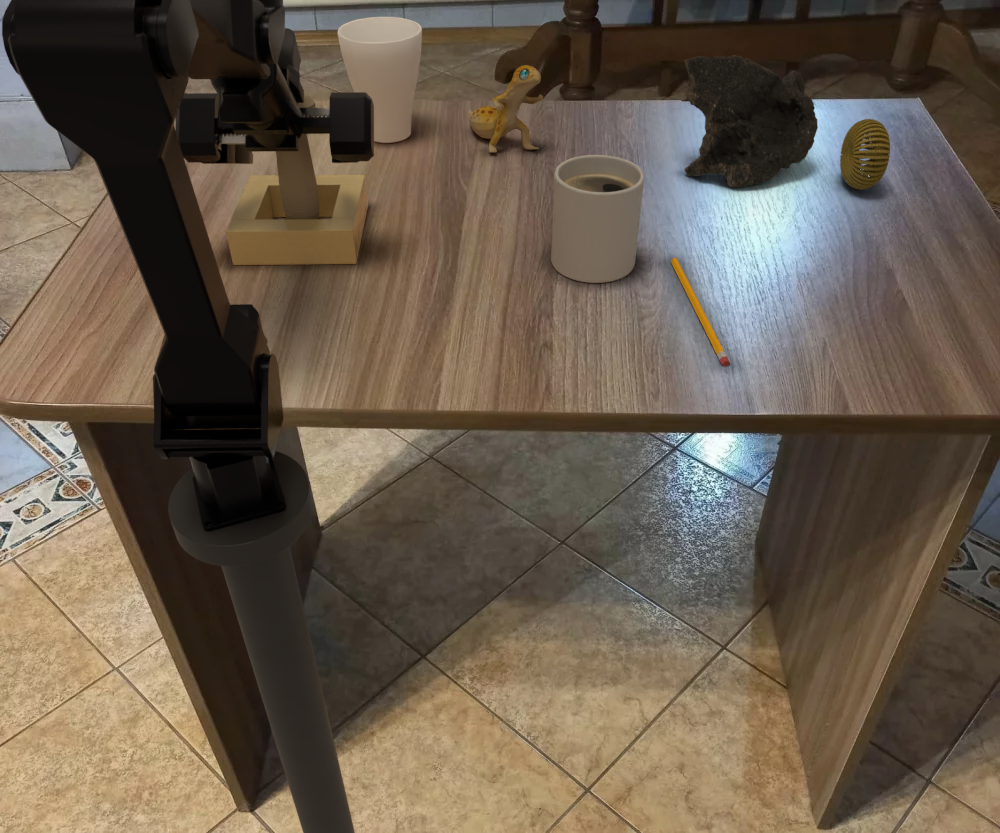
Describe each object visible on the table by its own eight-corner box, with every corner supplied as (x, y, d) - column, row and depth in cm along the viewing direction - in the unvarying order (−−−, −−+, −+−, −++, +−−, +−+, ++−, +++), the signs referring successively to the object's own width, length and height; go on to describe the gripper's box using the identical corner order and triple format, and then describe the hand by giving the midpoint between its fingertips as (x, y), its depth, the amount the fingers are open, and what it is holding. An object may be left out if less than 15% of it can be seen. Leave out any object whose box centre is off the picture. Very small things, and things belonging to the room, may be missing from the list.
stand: (356, 264, 95) (352, 230, 93) (232, 265, 95) (225, 231, 92) (368, 206, 105) (364, 174, 102) (256, 207, 105) (250, 175, 102)
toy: (524, 149, 109) (518, 62, 107) (448, 156, 121) (441, 77, 118) (562, 147, 113) (558, 62, 111) (486, 154, 125) (480, 77, 122)
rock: (783, 190, 120) (797, 69, 116) (819, 191, 107) (836, 56, 104) (658, 185, 119) (667, 63, 115) (680, 185, 107) (691, 49, 103)
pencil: (721, 367, 82) (722, 361, 81) (670, 263, 95) (670, 258, 95) (729, 366, 82) (731, 360, 81) (677, 263, 96) (678, 257, 95)
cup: (443, 130, 122) (439, 26, 113) (392, 157, 115) (383, 48, 106) (385, 112, 126) (376, 11, 118) (332, 137, 120) (319, 32, 111)
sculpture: (882, 201, 106) (902, 135, 101) (848, 201, 106) (866, 135, 101) (862, 171, 112) (880, 108, 107) (830, 171, 112) (846, 108, 107)
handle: (306, 252, 97) (285, 115, 87) (270, 233, 100) (246, 99, 91) (341, 236, 100) (324, 101, 90) (304, 218, 103) (284, 86, 93)
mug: (624, 289, 91) (634, 199, 85) (534, 274, 94) (537, 184, 87) (646, 239, 99) (656, 152, 93) (562, 226, 101) (566, 140, 95)
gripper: (362, 7, 81) (382, 85, 97) (153, 8, 81) (207, 86, 96) (362, 127, 80) (382, 186, 96) (151, 128, 80) (206, 187, 95)
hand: (294, 158), depth 96 cm, fingers open, 9 cm apart
